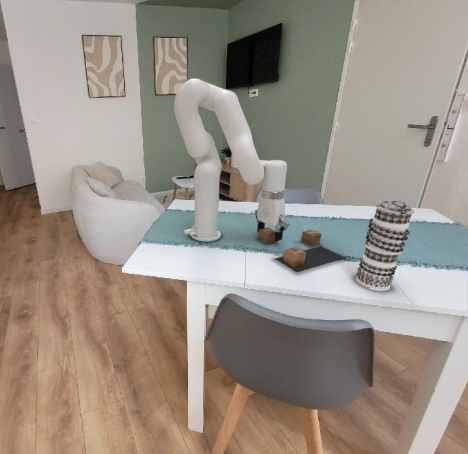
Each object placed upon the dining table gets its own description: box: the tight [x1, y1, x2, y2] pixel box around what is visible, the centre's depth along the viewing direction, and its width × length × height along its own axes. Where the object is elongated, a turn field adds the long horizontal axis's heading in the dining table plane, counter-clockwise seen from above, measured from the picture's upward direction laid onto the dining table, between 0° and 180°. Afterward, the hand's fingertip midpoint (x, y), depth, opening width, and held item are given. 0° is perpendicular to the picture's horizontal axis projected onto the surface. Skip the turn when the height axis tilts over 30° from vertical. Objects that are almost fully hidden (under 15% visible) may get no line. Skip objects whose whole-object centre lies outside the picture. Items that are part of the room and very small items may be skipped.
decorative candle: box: [355, 200, 415, 292], centre depth 82 cm, size 9×9×25 cm
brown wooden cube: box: [283, 246, 306, 268], centre depth 98 cm, size 5×5×5 cm
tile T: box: [300, 229, 322, 247], centre depth 111 cm, size 5×5×5 cm
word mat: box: [274, 245, 346, 273], centre depth 101 cm, size 22×10×1 cm, turn 111°
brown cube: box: [257, 227, 277, 244], centre depth 115 cm, size 5×5×5 cm
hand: (269, 235), depth 115 cm, fingers open, 9 cm apart
